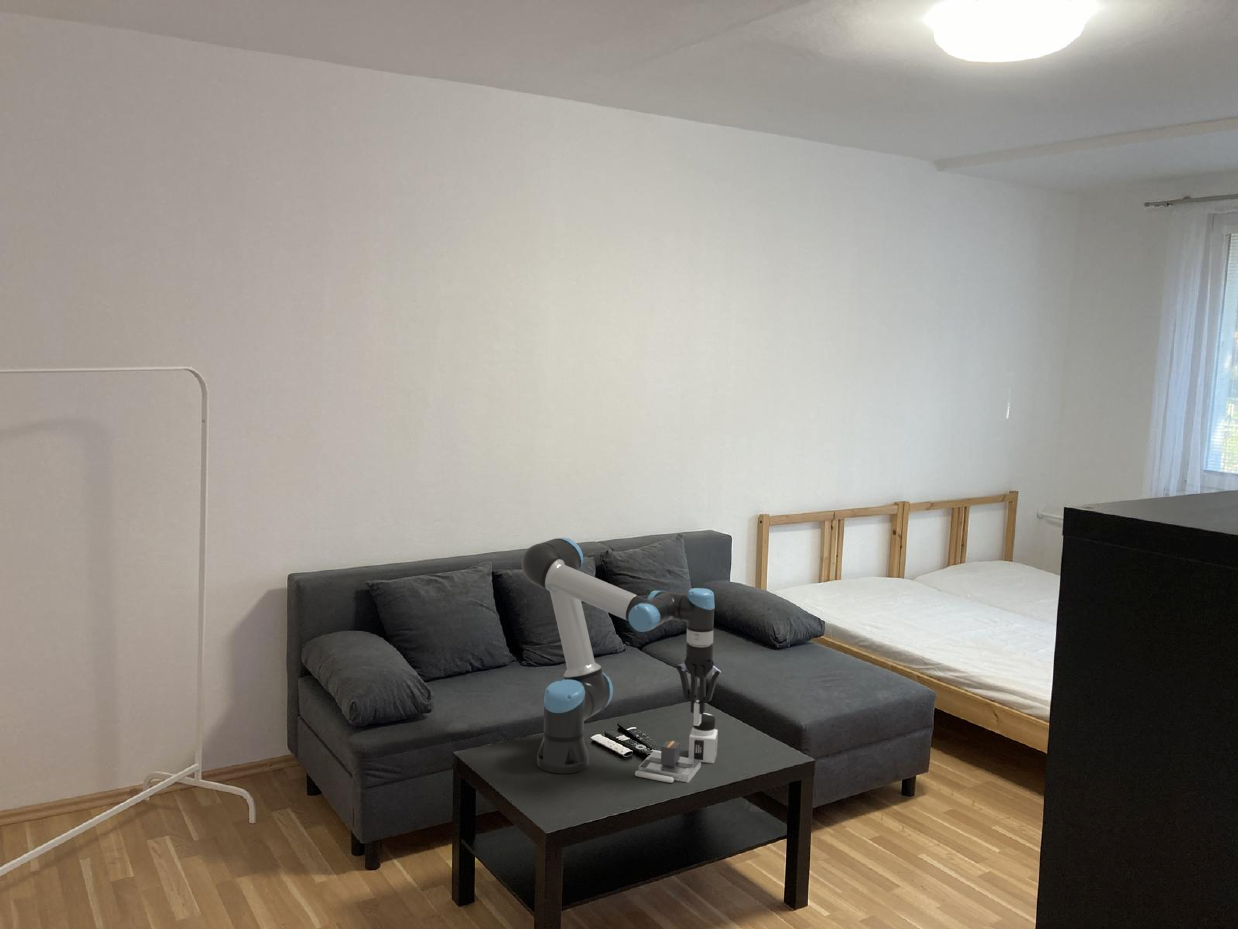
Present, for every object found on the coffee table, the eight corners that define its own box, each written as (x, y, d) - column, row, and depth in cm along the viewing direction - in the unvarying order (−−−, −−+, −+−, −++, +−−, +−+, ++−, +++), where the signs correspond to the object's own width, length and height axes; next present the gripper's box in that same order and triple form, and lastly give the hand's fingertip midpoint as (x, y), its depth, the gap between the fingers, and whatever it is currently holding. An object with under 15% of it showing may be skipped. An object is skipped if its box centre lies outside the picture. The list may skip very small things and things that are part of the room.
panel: (638, 773, 286) (638, 765, 286) (652, 758, 297) (652, 750, 297) (688, 782, 281) (688, 775, 281) (700, 766, 292) (701, 759, 292)
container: (714, 763, 294) (715, 721, 293) (688, 761, 296) (689, 718, 294) (716, 753, 302) (718, 712, 300) (691, 751, 303) (693, 709, 302)
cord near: (634, 776, 284) (634, 771, 284) (636, 774, 285) (636, 769, 285) (672, 784, 280) (672, 778, 279) (674, 782, 281) (674, 776, 281)
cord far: (640, 754, 300) (640, 748, 300) (642, 752, 301) (642, 747, 301) (677, 760, 296) (677, 755, 296) (678, 758, 297) (678, 753, 297)
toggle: (660, 763, 287) (661, 746, 287) (666, 757, 292) (667, 740, 291) (674, 765, 286) (674, 748, 285) (679, 759, 290) (680, 742, 290)
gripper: (673, 644, 281) (671, 725, 283) (718, 650, 276) (715, 732, 279) (681, 637, 288) (679, 716, 290) (725, 643, 283) (722, 723, 286)
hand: (697, 724), depth 285 cm, fingers closed
